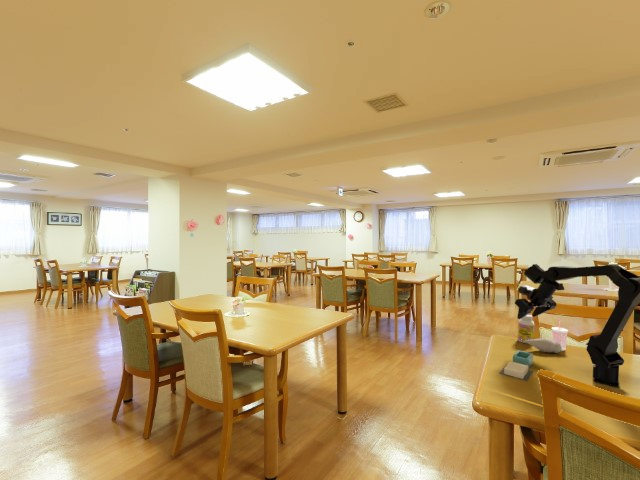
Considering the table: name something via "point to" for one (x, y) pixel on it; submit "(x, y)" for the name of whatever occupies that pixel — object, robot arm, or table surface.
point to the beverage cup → (560, 335)
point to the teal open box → (523, 358)
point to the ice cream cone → (545, 345)
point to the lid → (516, 369)
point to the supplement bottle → (526, 328)
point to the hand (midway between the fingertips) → (525, 317)
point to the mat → (517, 377)
